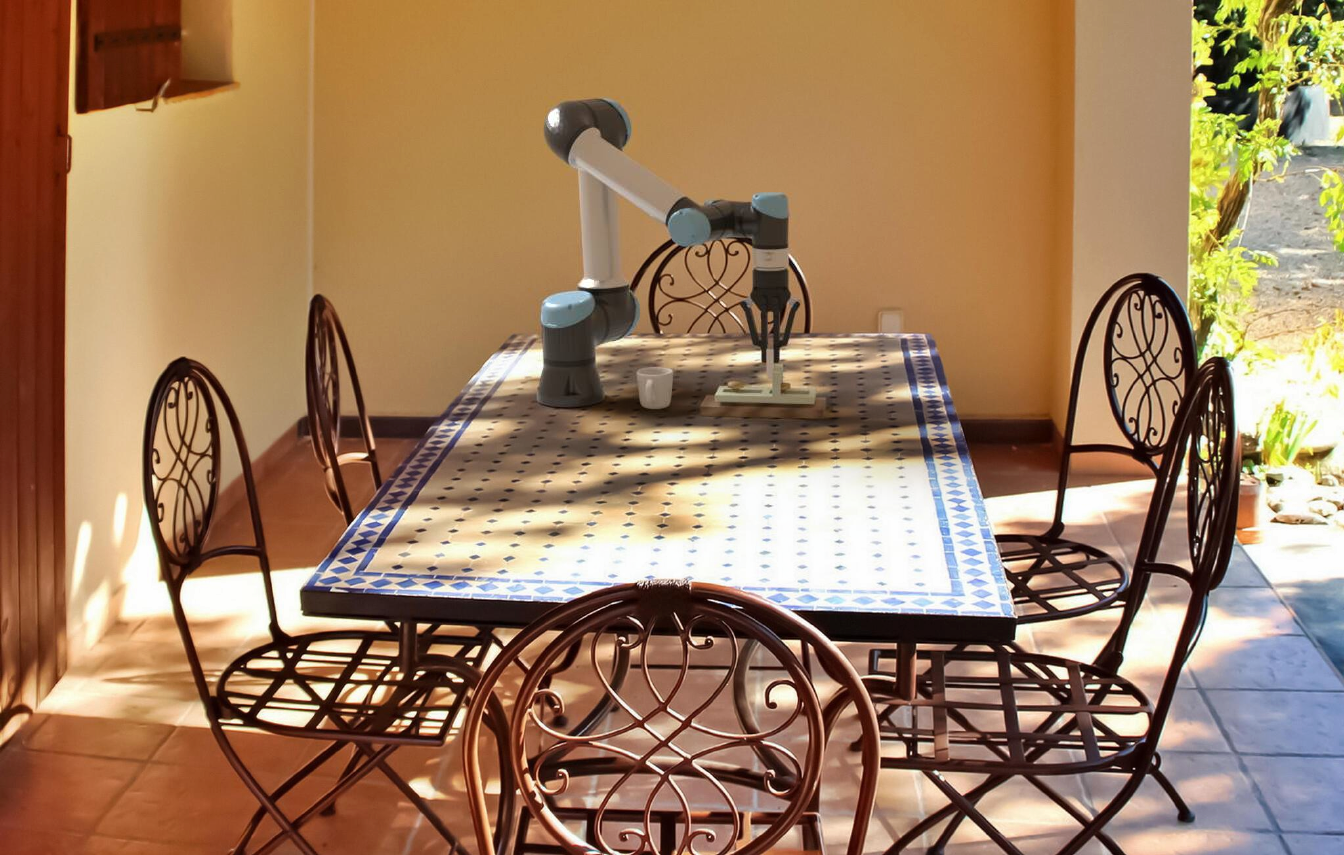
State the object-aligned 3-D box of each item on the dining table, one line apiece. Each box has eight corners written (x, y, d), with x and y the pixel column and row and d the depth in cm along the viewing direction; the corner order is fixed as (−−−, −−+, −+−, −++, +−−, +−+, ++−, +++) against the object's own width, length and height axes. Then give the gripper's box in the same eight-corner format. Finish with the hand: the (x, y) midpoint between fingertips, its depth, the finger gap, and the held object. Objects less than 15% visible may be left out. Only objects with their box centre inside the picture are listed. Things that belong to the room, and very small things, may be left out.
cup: (667, 415, 306) (666, 379, 304) (630, 414, 308) (629, 377, 306) (677, 402, 316) (676, 367, 314) (641, 401, 318) (640, 366, 316)
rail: (700, 415, 306) (700, 388, 304) (706, 403, 315) (706, 376, 314) (823, 418, 302) (823, 391, 300) (825, 406, 311) (826, 379, 309)
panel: (714, 401, 305) (714, 371, 304) (719, 392, 313) (719, 362, 311) (814, 403, 302) (814, 373, 300) (816, 394, 310) (816, 364, 308)
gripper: (737, 270, 297) (738, 381, 303) (800, 270, 295) (799, 382, 301) (741, 264, 304) (742, 373, 311) (803, 265, 302) (802, 374, 308)
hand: (770, 377), depth 306 cm, fingers closed
